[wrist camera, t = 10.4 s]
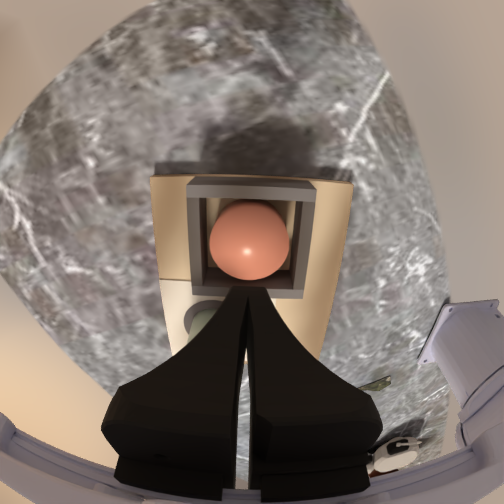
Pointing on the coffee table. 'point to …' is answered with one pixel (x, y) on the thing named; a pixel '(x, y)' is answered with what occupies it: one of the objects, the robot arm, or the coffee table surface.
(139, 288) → the coffee table surface
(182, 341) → the wooden base tray
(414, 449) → the robot toy
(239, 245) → the button
